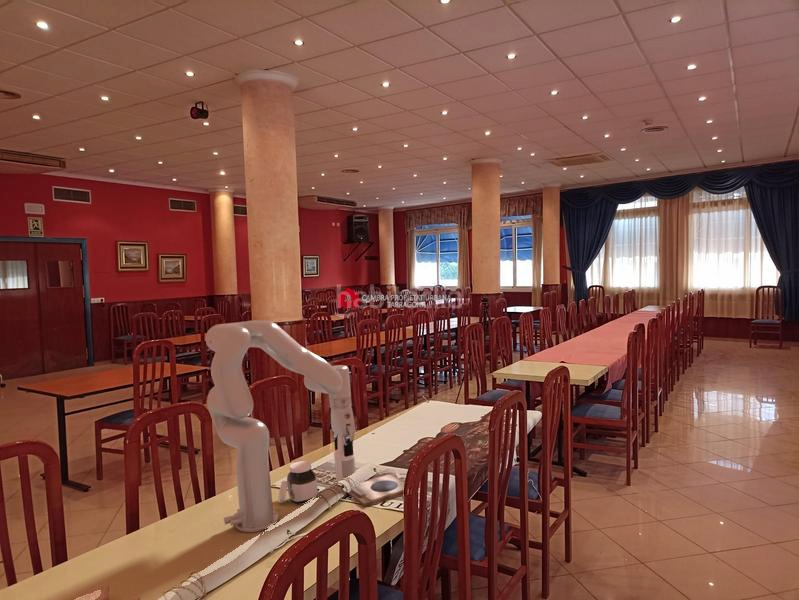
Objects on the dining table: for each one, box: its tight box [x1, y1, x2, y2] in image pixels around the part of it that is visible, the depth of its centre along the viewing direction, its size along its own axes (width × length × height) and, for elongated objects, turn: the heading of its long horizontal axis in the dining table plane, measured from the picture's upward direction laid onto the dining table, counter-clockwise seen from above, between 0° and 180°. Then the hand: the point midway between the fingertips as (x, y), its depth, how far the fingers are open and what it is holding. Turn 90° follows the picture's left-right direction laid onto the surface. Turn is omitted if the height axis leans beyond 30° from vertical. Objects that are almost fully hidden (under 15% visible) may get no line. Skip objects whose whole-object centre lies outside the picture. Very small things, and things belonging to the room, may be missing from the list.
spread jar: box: [277, 460, 318, 505], centre depth 176 cm, size 12×11×12 cm
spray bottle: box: [333, 433, 356, 482], centre depth 187 cm, size 7×7×18 cm
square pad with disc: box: [348, 472, 404, 508], centre depth 179 cm, size 18×16×2 cm
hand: (344, 452), depth 187 cm, fingers closed on spray bottle, 6 cm apart
